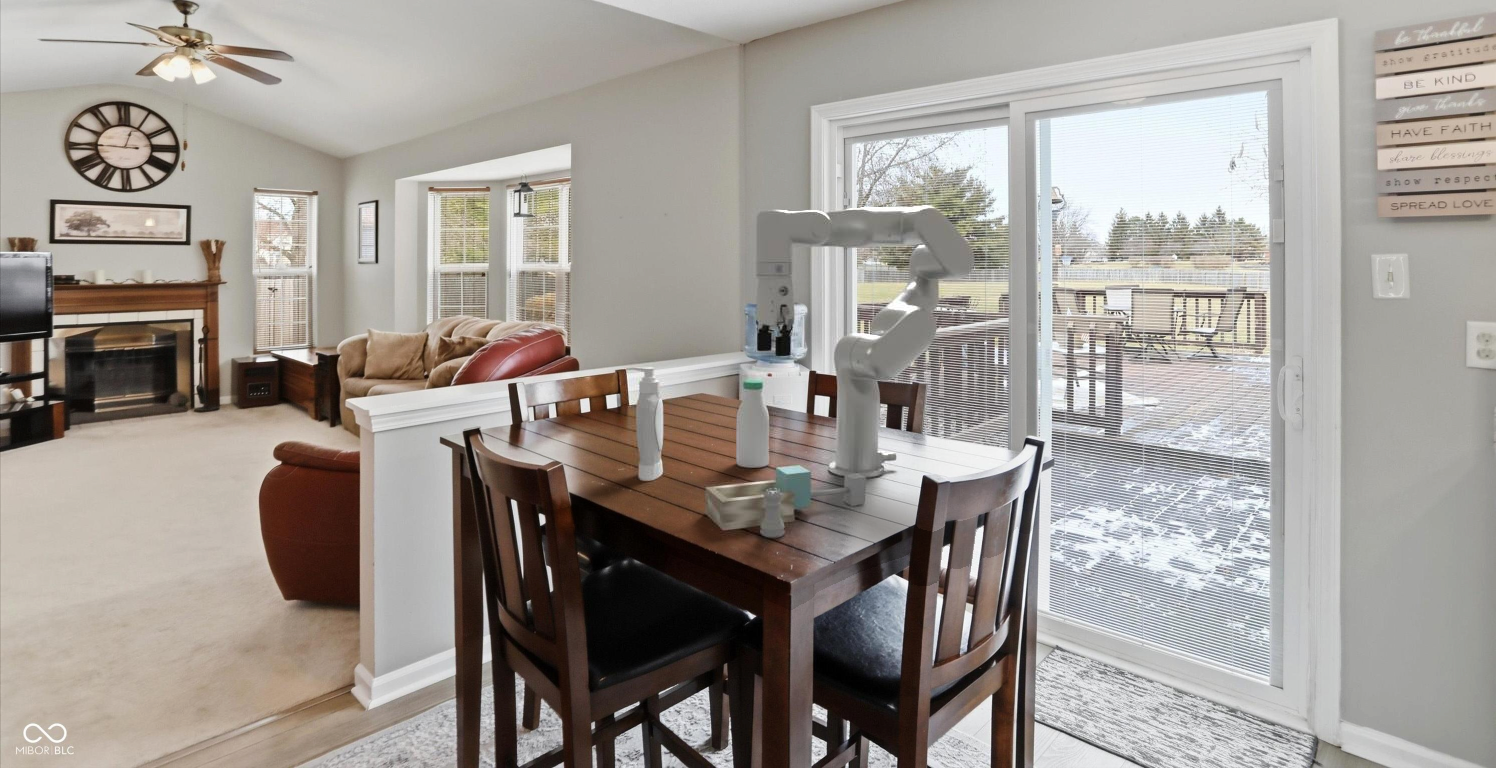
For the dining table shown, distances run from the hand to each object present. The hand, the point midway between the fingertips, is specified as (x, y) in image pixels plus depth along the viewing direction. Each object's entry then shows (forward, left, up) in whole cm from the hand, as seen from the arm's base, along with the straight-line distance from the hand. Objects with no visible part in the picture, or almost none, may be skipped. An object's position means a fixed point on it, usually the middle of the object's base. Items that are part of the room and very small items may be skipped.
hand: (773, 353), depth 160 cm
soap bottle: (+24, -16, -28) cm, 41 cm away
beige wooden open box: (+13, +19, -28) cm, 36 cm away
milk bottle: (-2, -16, -28) cm, 33 cm away
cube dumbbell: (-2, +19, -28) cm, 34 cm away
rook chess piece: (+12, +29, -28) cm, 42 cm away
